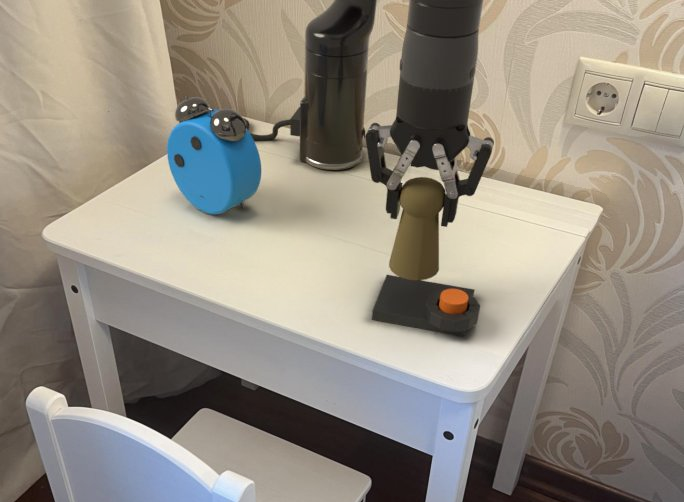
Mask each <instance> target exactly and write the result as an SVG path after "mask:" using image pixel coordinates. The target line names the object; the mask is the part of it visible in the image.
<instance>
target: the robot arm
mask: <svg viewBox="0 0 684 502" xmlns="http://www.w3.org/2000/svg"><path fill="white" fill-rule="evenodd" d="M377 3H378V0H333V2H331V4H330V5H329V6H328V8H326V9H325V10H324V11H323V12H322V13H320V14H319V15H317V16H316V17H314V18H313V19H311V20H310V21H309V22H308V24H307V25H306V28H305V31H304V32H305V33H304V88H303V89H304V91H303V93H304V94H303V95H304V96H303V98H301V100H300V102H299V103H300V104H299V107H298V108H297V109H296V111H295V112H294V113H293V115H292V116H291V117H290V118H289V119H284V120H281V121H278V122H276V123H275V124H274V125H273V126H272V131H271V133H269V134H255V133H252V132H249V133H250V134H251V136H252V138H253V140H254V141H257V142H259V141H260V142H263V141H265V142H266V141H272V140H274V139H276V138H277V136H278V134H279V129H281V128H283V127H287V126H290V127H289V128H290V129H289V130H290V131H289V134H290V136H292V137H299V162H303V163H307V164H308V165H309V166H312V167H315V168H317V169H321V170H328V171H340V170H341V171H342V170H346V169H350V168H353V167H356V166H357V165H359V164H360V163H361V162H362V160H363V156H364V155H363V148H364V143H363V142H364V140H365V145H366V150H367V152H366V153H367V158H368V163H369V164H368V165H369V171H370V177H371V181H372V182H373V183H374V184H375V183H376V184H380V183H381V184H383V185H384V186H385V187H386V199H385V211H386V214H390V215H389V216H390V218H389V219H391V220H397V219H398V217H399V216H400V215H399V214H400V211H401V205H400V200H399V199H400V190H401V188H402V186H403V185H404V183H403V182H402V180H403V177H404V176H405V174H406V173H407V171H408V169H409V167H413V168H427V169H430V170H433V171H438V173H439V177H440V180H441V182H442V183H443V187H444V189H445V192H446V196H445V199H444V206H443V208H442V214H441V222H440V227H443V228H448V225H449V224H452V223H454V221H455V219H456V215H457V212H458V205H459V199H460V197H462V196H467V197H472V196H474V195H475V193H476V191H477V189H478V186H479V184H480V181H481V179H482V177H483V174H484V172H485V170H486V168H487V165H488V163H489V160H490V158H491V155H492V153H493V149H494V145H495V141H494V139H493V137H489V136H487V137H485V138H479V137H477V136H474V135H471V132H470V129H469V123H468V121H469V115H470V108H471V102H472V95H473V89H474V88H473V87H474V82H475V76H476V72H477V71H476V68H477V63H478V62H477V61H478V57H479V56H478V54H479V33H480V25H481V19H482V11H483V6H484V0H409V1H408V10H407V11H408V12H407V20H406V29H405V33H404V38H403V43H402V47H401V48H402V49H401V58H400V60H399V81H398V93H397V102H396V114H395V119H394V121H392V124H390V125H389V124H388V125H380V123H378V122H372V123H371V124H370V126H369V128H368V129H367V131H366V129H365V113H366V95H367V80H368V65H369V49H370V47H369V46H370V38H371V34H372V33H373V31H374V30H373V29H374V27H375V22H376V21H375V20H376V12H377ZM243 118H244V120H245V123H246V129H247V130H248V129H249V127H250V122H249V120H248V119H246V118H245V117H243ZM248 131H249V130H248ZM389 138H391V140H392V141H393V142H394V145H395V147H396V148H397V150H398V151H399V153H400V157H399V158H398V160H397V162H396V164H395V166H394V168H393V169H390V168H388V167H387V163H386V161H387V160H386V156H385V146H386V145H387V143H388V139H389ZM466 148H468V149H469V150H470V151H469V152H470V153H469V157H470V159H471V160H473V161H474V162H473V165H472V167H471V170H470V171H469V174H468V177H467V178H464V179H461V178H460V174H459V171H458V162H457V157H458V156H459V155H460V154H461V153H462V152H463V151H464V150H465V149H466Z"/></svg>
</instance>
